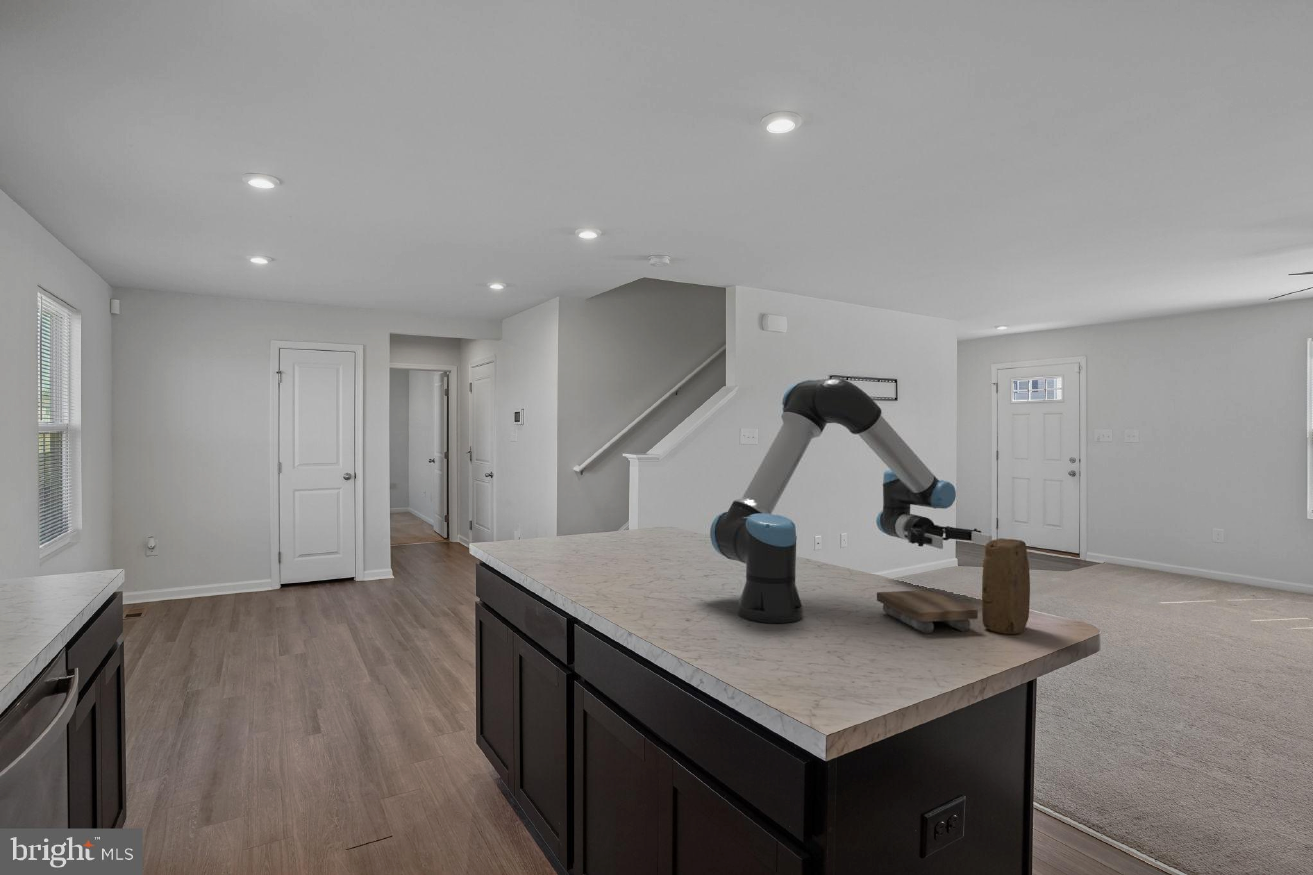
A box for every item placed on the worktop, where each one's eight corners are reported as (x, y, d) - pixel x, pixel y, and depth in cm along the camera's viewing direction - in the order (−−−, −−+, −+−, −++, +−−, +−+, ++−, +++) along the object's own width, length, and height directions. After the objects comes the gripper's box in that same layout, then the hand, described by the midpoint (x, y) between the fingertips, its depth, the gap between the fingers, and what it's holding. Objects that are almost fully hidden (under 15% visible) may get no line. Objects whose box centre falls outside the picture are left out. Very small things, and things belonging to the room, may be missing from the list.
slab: (919, 635, 145) (919, 612, 144) (876, 612, 162) (876, 592, 162) (977, 632, 147) (977, 609, 147) (928, 610, 165) (929, 590, 165)
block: (1013, 638, 143) (1014, 544, 143) (977, 629, 149) (979, 540, 149) (1034, 628, 150) (1035, 539, 150) (999, 621, 156) (1000, 535, 156)
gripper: (955, 540, 189) (1010, 555, 168) (874, 544, 183) (920, 559, 163) (955, 514, 188) (1010, 525, 168) (874, 516, 183) (920, 528, 162)
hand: (966, 542), depth 165 cm, fingers open, 13 cm apart
